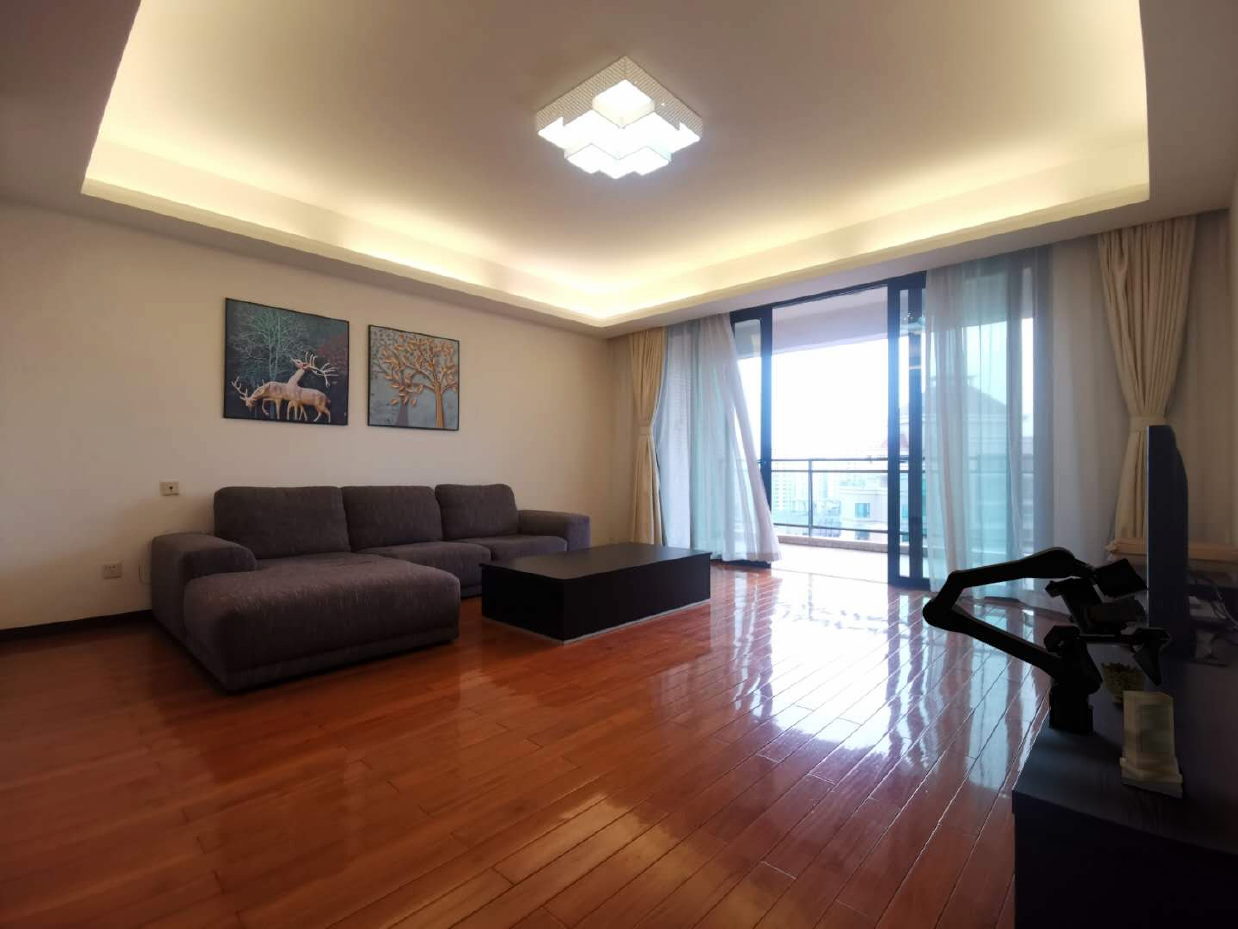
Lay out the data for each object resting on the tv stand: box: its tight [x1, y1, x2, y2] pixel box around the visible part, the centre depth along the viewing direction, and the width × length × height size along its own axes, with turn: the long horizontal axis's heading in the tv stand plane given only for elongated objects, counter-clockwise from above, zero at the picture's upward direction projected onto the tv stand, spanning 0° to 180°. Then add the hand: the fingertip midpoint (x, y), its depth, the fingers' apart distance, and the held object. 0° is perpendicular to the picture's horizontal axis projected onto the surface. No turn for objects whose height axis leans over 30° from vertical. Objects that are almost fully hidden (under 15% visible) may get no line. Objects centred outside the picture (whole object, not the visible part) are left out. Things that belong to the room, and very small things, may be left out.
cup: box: [1100, 661, 1147, 706], centre depth 124 cm, size 8×7×8 cm
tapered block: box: [1119, 690, 1183, 784], centre depth 93 cm, size 6×5×13 cm
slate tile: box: [1121, 745, 1183, 796], centre depth 95 cm, size 7×14×1 cm, turn 138°
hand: (1130, 684), depth 100 cm, fingers open, 9 cm apart
